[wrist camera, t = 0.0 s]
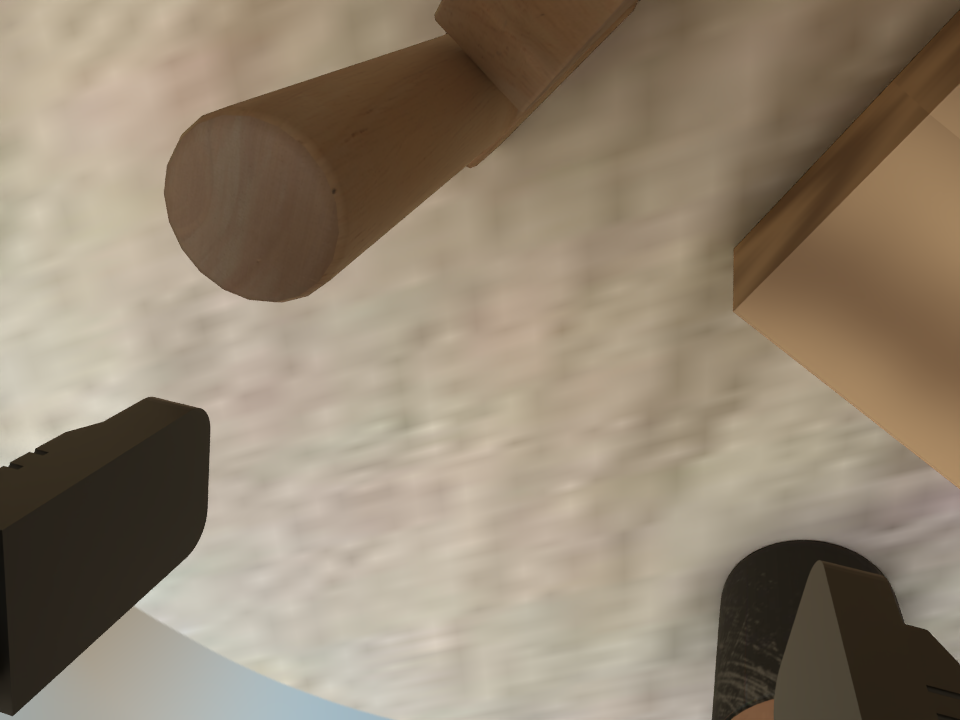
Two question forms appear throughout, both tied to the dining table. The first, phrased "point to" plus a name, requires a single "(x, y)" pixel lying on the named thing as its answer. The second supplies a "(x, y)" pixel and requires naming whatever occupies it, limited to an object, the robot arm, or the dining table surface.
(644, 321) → the dining table surface
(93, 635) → the robot arm
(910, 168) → the seat block
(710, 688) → the dining table surface
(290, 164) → the wooden block
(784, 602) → the travel mug
